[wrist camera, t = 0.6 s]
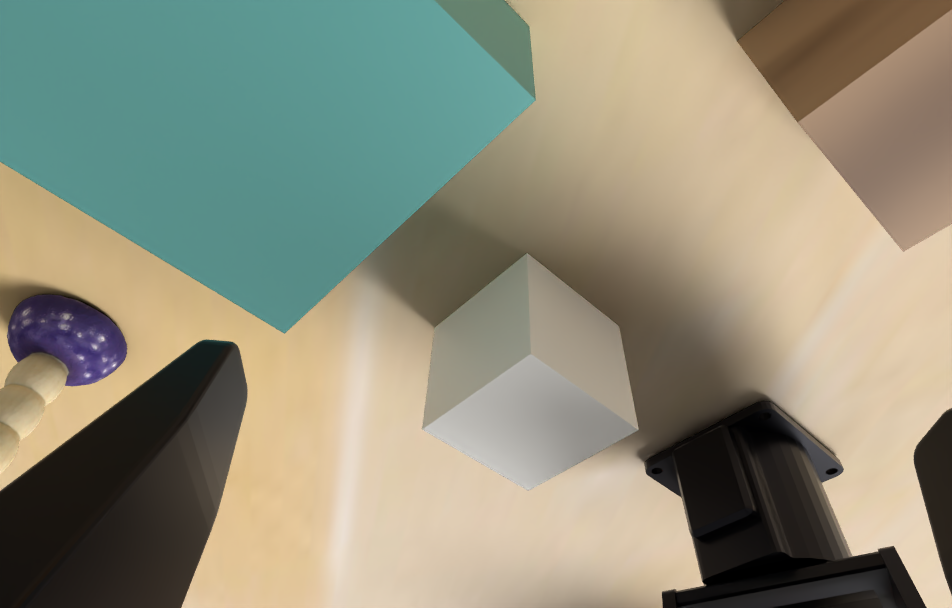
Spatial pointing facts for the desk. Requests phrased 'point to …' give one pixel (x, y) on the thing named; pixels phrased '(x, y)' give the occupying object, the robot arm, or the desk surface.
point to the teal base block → (256, 125)
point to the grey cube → (528, 377)
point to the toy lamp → (52, 361)
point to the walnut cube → (870, 99)
